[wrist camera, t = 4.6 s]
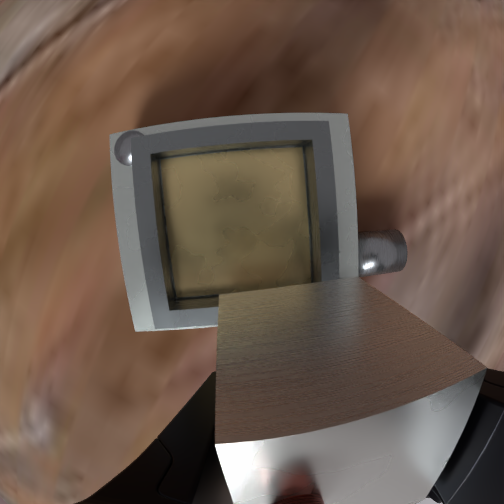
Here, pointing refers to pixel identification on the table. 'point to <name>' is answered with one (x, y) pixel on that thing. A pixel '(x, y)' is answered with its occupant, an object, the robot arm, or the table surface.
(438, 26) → the table surface
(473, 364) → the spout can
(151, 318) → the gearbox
